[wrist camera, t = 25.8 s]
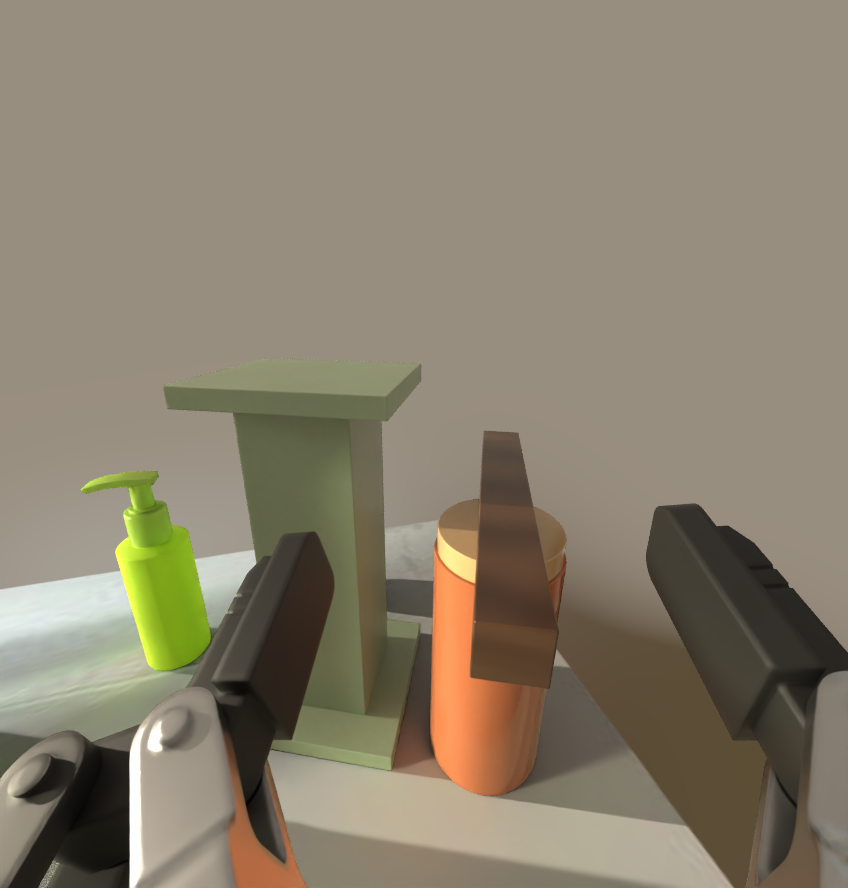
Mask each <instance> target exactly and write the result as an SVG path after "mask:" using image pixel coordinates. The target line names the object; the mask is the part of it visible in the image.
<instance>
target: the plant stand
mask: <svg viewBox="0 0 848 888" xmlns="http://www.w3.org/2000/svg"><path fill="white" fill-rule="evenodd" d="M420 382H421V364H415V363H387V362H359V361H330V360H329V361H328V360H300V359H272V358H264V359H261V360H257V361H253V362H249V363H246V364H242V365H238V366H234V367H231V368H227V369H223V370H219V371H216V372H212V373H208V374H204V375H200V376H197V377H193V378H189V379H186V380H182V381H178V382H174V383H171V384H167V385H164V386H163V390H164V395H165V400H166V405H167V408H168V409H176V410H194V411H212V412H230V413H233V417H234V423H235V429H236V436H237V442H238V449H239V454H240V461H241V468H242V474H243V480H244V487H245V493H246V499H247V506H248V512H249V518H250V525H251V530H252V537H253V544H254V550H255V556H256V563H258V562H259V561H260V560H261V559H262V558H263V557H264V556H272V554H273V552H274V550H275V548H276V546H277V544H278V541H279V539H280V538H281V536H282V535H284V534H286V533H298V532H312V531H314V532H316V533H317V534H318V536H319V538H320V541H321V543H322V546H323V548H324V551H325V553H326V556H327V558H328V560H329V563H330V565H331V568H332V570H333V574H334V581H335V587H334V595H333V599H332V603H331V606H330V610H329V613H328V616H327V620H326V623H325V627H324V630H323V634H322V637H321V641H320V644H319V648H318V651H317V655H316V658H315V662H314V665H313V669H312V672H311V676H310V679H309V683H308V686H307V689H306V693H305V696H304V700H303V703H302V707H301V710H300V714H299V717H298V721H297V724H296V728H295V731H294V735H293V738H292V740H273V742H272V745H271V748H270V749H274V750H279V751H285V752H290V753H296V754H302V755H307V756H313V757H318V758H324V759H329V760H335V761H340V762H346V763H351V764H357V765H362V766H368V767H374V768H379V769H385V770H390V771H391V770H392V768H393V763H394V758H395V754H396V749H397V744H398V739H399V734H400V729H401V725H402V720H403V715H404V710H405V705H406V701H407V696H408V691H409V686H410V681H411V677H412V672H413V667H414V662H415V657H416V652H417V648H418V643H419V638H420V623H412V622H404V621H396V620H388V619H387V609H386V571H385V533H384V496H383V459H382V421H388V420H389V419H390V417H391V416H392V415H393V414H394V413H395V412H396V410H397V409H398V408H399V407H400V406H401V404H402V403H403V402H404V401H405V400H406V398H407V397H408V396H409V395H410V394H411V392H412V391H413V390H414V389H415V388H416V386H417V385H418V384H419V383H420Z"/></svg>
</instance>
